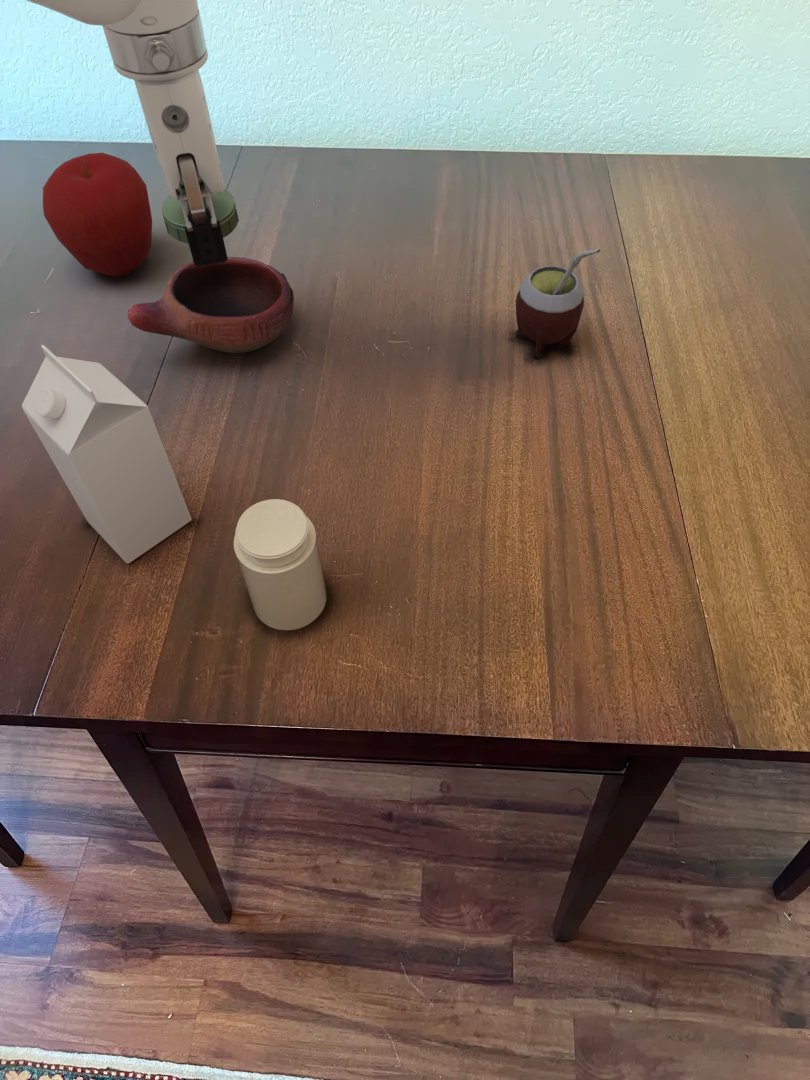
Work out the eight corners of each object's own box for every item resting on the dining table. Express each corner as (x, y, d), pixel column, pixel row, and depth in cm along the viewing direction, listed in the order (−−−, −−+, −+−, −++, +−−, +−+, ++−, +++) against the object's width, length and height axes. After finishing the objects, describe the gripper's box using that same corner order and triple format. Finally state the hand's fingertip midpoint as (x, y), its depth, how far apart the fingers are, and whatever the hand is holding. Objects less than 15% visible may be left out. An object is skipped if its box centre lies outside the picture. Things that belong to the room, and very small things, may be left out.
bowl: (229, 286, 93) (215, 225, 87) (318, 321, 89) (310, 260, 83) (139, 367, 85) (116, 307, 79) (232, 408, 81) (216, 349, 75)
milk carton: (150, 479, 76) (82, 322, 60) (193, 521, 73) (133, 367, 57) (86, 521, 73) (-2, 367, 58) (128, 566, 70) (47, 417, 55)
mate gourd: (521, 315, 90) (538, 192, 77) (588, 330, 88) (617, 207, 76) (502, 356, 86) (517, 234, 73) (572, 373, 84) (599, 251, 72)
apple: (112, 227, 100) (75, 122, 89) (187, 250, 97) (158, 144, 86) (49, 280, 94) (2, 174, 83) (127, 306, 91) (88, 200, 80)
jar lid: (248, 207, 77) (245, 189, 75) (222, 248, 73) (218, 230, 71) (184, 198, 78) (179, 180, 76) (155, 238, 74) (149, 220, 72)
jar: (252, 634, 66) (228, 565, 57) (253, 570, 70) (230, 497, 61) (328, 626, 66) (315, 557, 58) (324, 564, 70) (312, 490, 61)
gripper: (218, 83, 58) (258, 286, 72) (190, -9, 67) (230, 186, 82) (116, 98, 57) (177, 301, 71) (102, 2, 66) (158, 198, 81)
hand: (205, 238), depth 77 cm, fingers closed on jar lid, 6 cm apart
